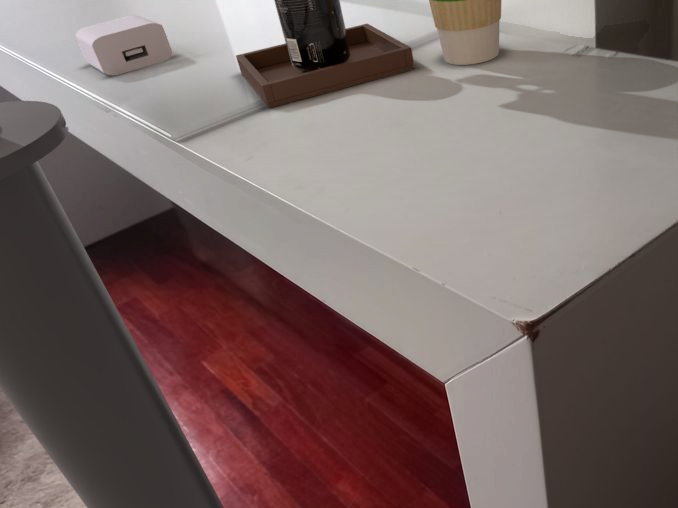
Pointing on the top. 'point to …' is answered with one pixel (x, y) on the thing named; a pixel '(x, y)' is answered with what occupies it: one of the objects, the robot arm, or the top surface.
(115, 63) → the charger
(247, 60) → the holder
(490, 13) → the coffee cup
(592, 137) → the top surface
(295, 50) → the beverage can
